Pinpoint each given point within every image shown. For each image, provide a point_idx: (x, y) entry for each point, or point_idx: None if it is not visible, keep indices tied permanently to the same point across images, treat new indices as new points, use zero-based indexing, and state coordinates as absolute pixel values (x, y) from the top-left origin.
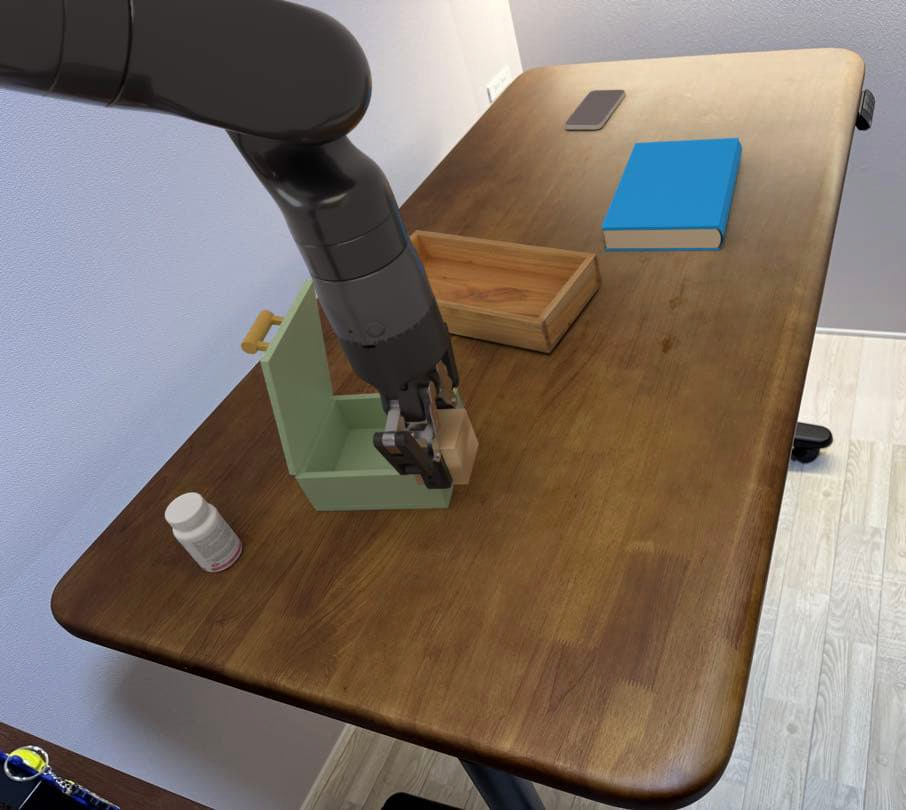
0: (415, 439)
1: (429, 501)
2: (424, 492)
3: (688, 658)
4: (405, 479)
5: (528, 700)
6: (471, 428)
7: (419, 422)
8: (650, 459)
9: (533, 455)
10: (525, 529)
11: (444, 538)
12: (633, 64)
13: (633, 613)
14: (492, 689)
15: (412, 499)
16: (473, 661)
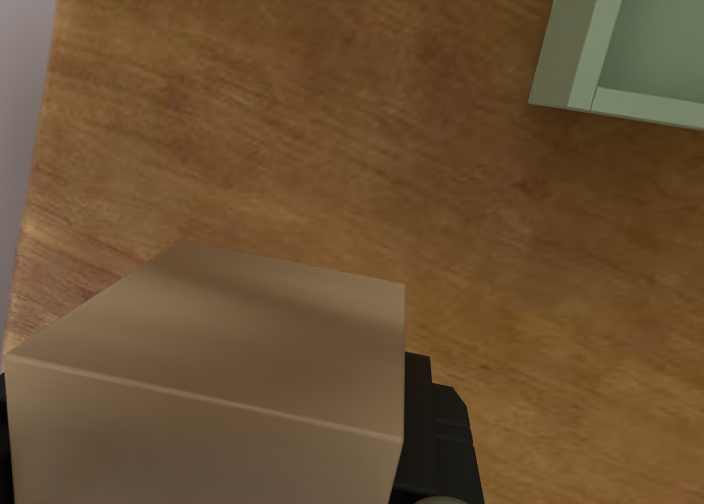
0: (92, 447)
1: (545, 60)
2: (556, 55)
3: None
4: (587, 6)
5: (95, 261)
6: None
7: (259, 469)
8: (532, 493)
9: (625, 298)
10: (425, 272)
11: (440, 99)
12: None
13: None
14: (109, 206)
15: (560, 12)
16: (156, 173)
